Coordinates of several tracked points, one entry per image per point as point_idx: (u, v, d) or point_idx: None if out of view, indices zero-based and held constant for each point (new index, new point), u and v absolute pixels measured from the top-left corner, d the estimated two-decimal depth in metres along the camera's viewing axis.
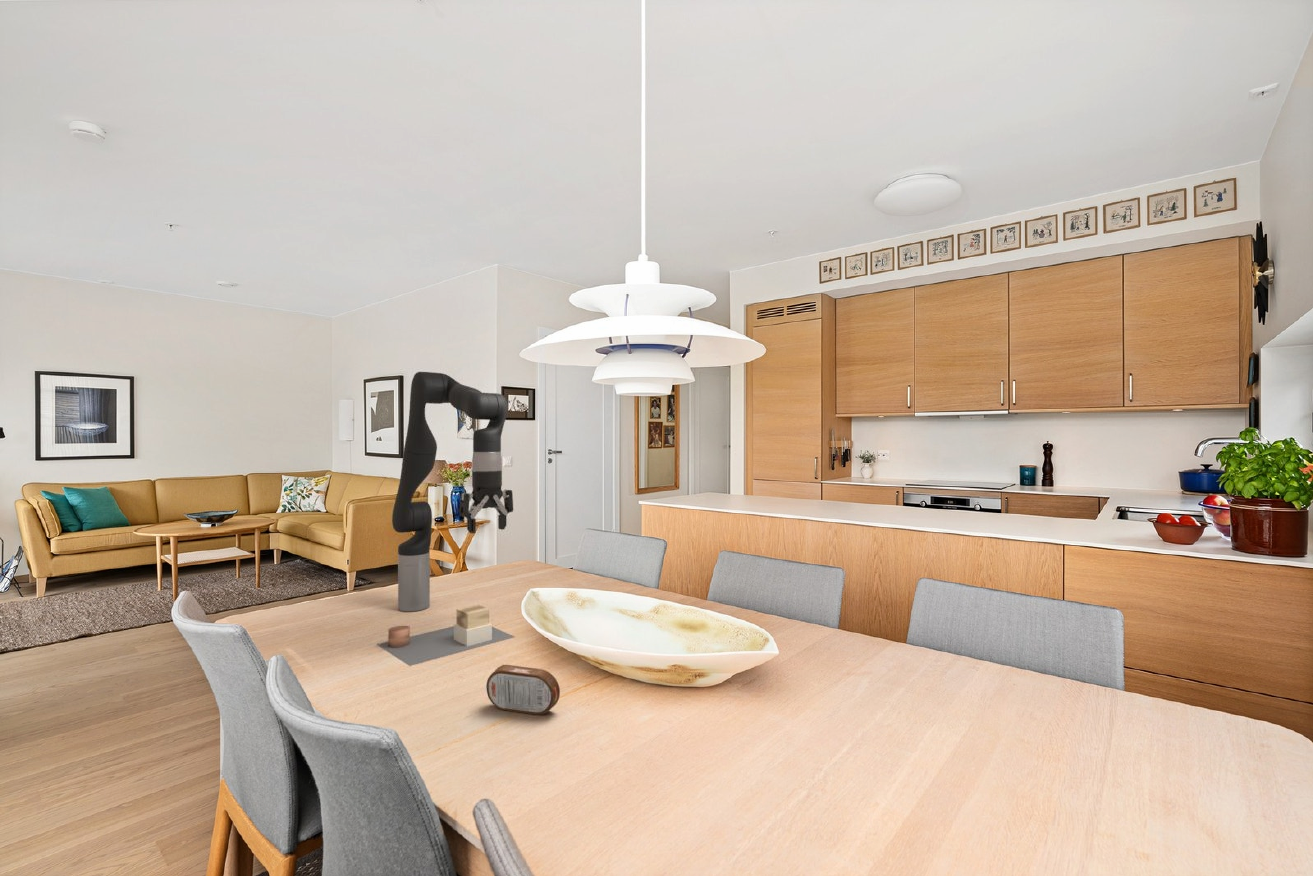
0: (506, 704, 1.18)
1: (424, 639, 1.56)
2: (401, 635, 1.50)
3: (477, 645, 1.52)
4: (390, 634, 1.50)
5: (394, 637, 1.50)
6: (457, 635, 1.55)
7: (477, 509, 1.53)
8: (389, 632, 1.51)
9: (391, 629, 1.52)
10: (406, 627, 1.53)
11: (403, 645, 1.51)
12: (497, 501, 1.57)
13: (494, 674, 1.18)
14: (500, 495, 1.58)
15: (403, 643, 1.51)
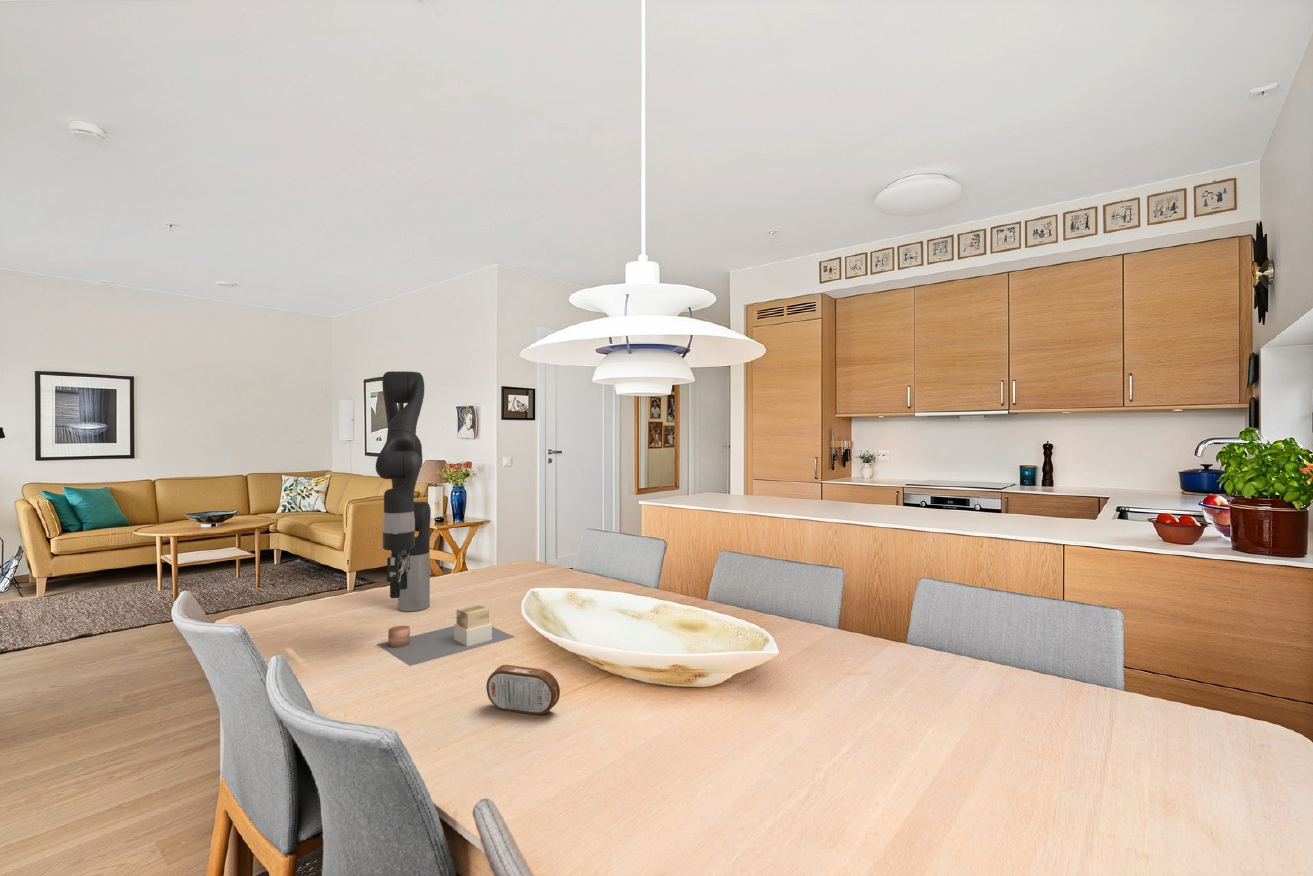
0: (506, 704, 1.18)
1: (424, 639, 1.56)
2: (401, 635, 1.50)
3: (477, 645, 1.52)
4: (390, 634, 1.50)
5: (394, 637, 1.50)
6: (457, 635, 1.55)
7: (402, 572, 1.49)
8: (389, 632, 1.51)
9: (391, 629, 1.52)
10: (406, 627, 1.53)
11: (403, 645, 1.51)
12: (407, 561, 1.55)
13: (494, 674, 1.18)
14: (406, 554, 1.56)
15: (404, 643, 1.51)
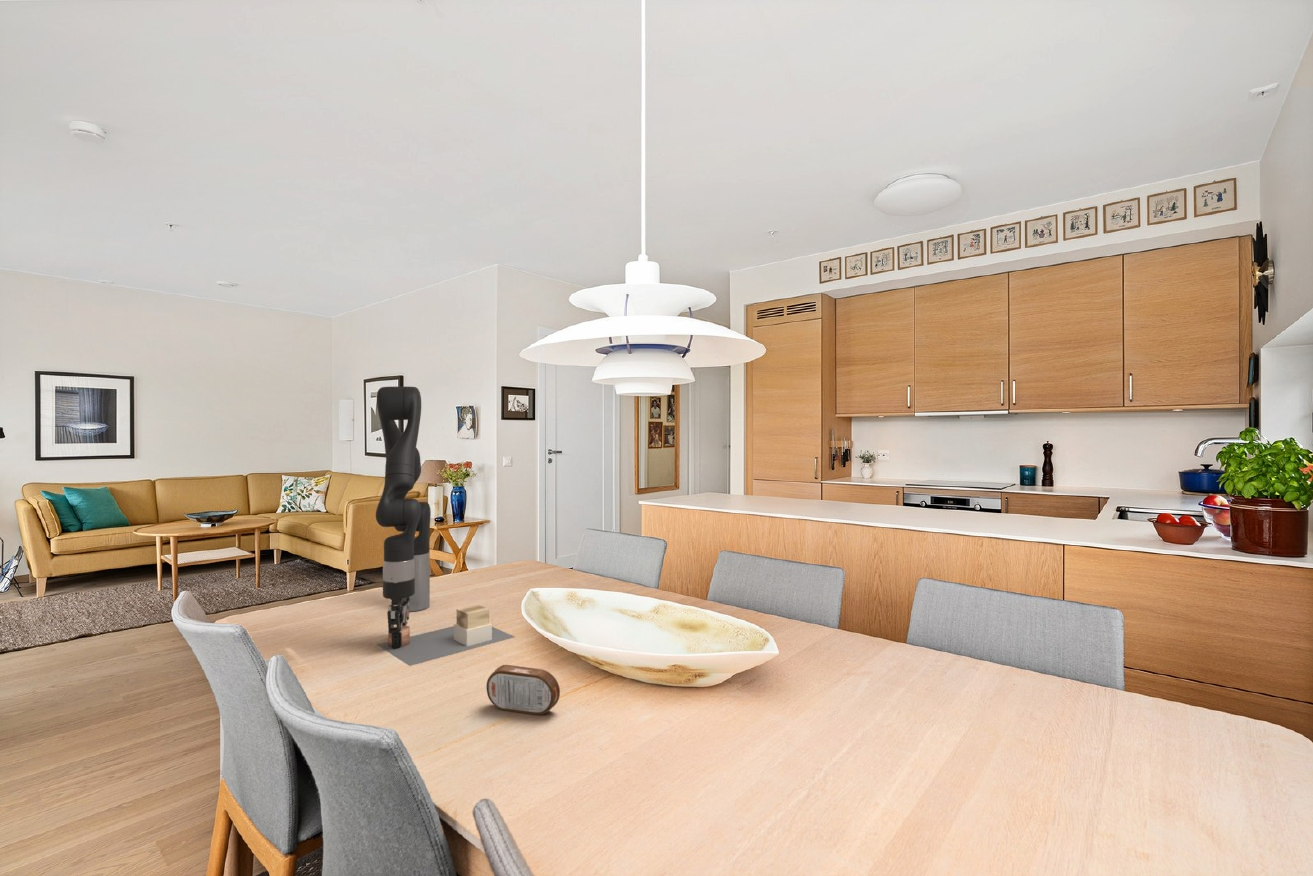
0: (507, 704, 1.18)
1: (424, 639, 1.56)
2: None
3: (477, 645, 1.52)
4: (390, 634, 1.50)
5: None
6: (457, 635, 1.55)
7: (403, 621, 1.50)
8: None
9: None
10: (406, 627, 1.53)
11: (403, 645, 1.51)
12: (407, 609, 1.54)
13: (494, 674, 1.18)
14: (406, 601, 1.56)
15: (403, 643, 1.51)
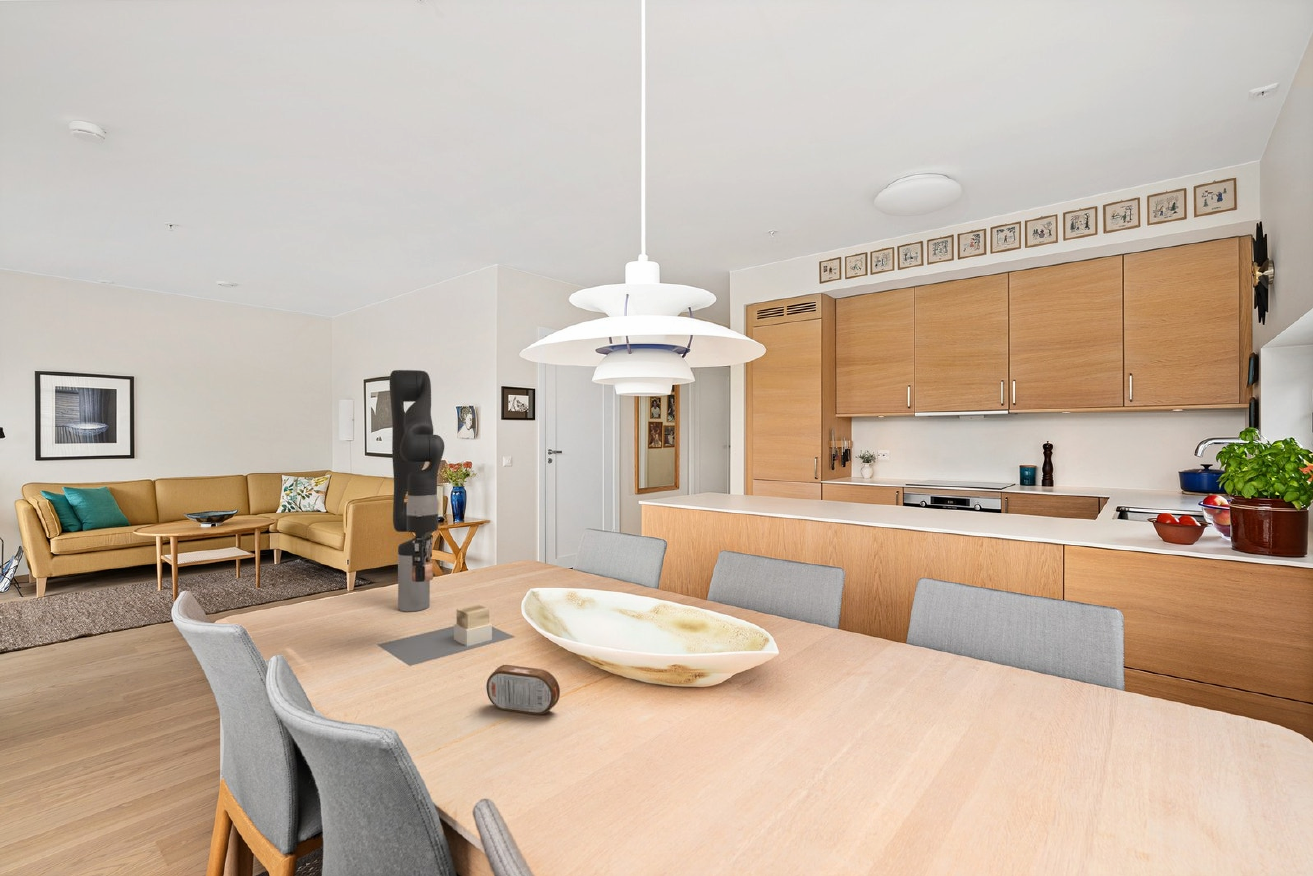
0: (507, 704, 1.18)
1: (424, 639, 1.56)
2: None
3: (477, 645, 1.52)
4: (414, 568, 1.51)
5: None
6: (457, 635, 1.55)
7: (426, 556, 1.51)
8: (413, 566, 1.52)
9: None
10: (429, 563, 1.54)
11: (426, 579, 1.52)
12: (430, 545, 1.55)
13: (494, 674, 1.18)
14: None
15: (427, 577, 1.52)
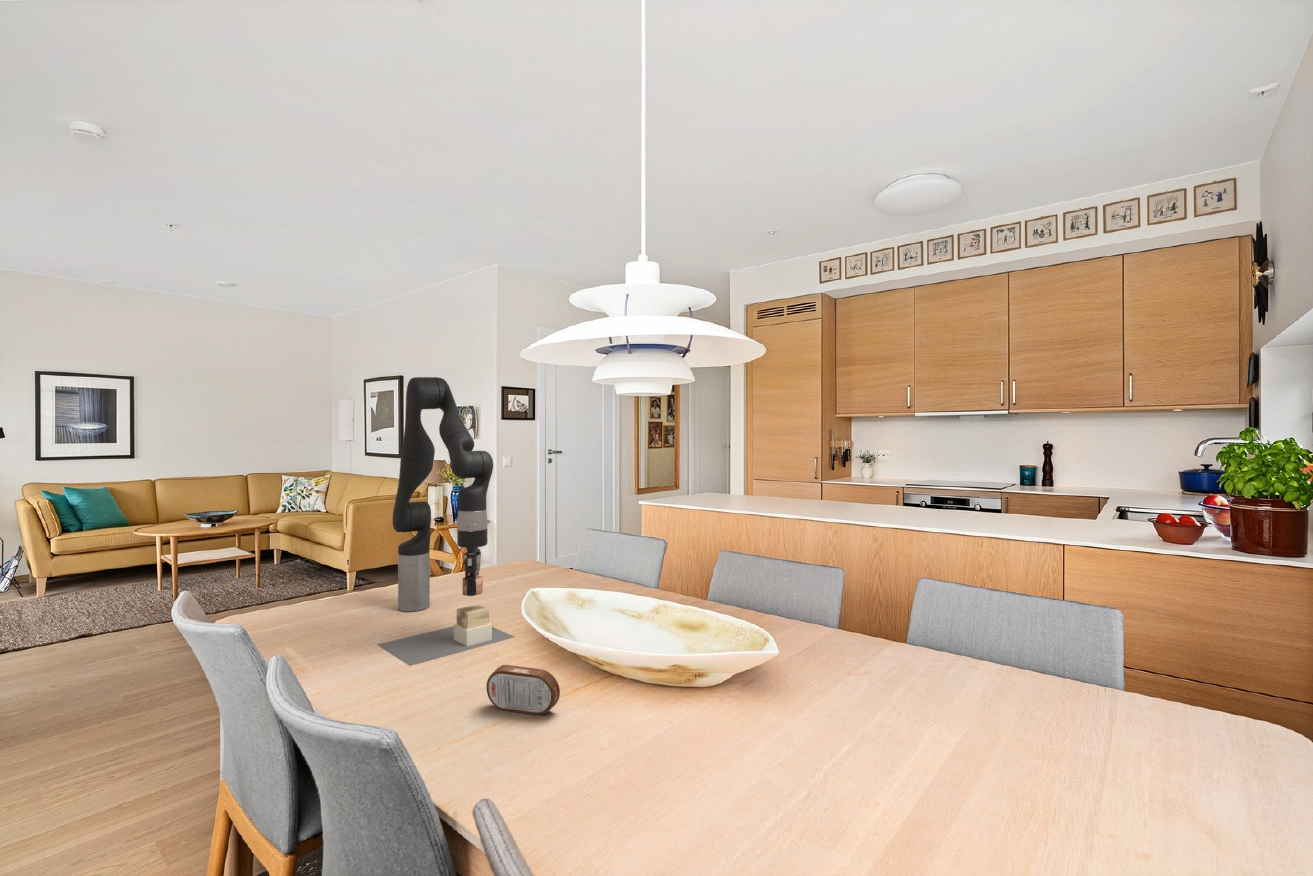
0: (507, 704, 1.18)
1: (424, 639, 1.56)
2: None
3: (477, 645, 1.52)
4: (465, 582, 1.54)
5: None
6: (457, 635, 1.55)
7: (477, 570, 1.54)
8: (464, 580, 1.54)
9: None
10: (479, 577, 1.57)
11: (477, 593, 1.54)
12: (479, 559, 1.58)
13: (494, 674, 1.18)
14: None
15: (478, 591, 1.54)
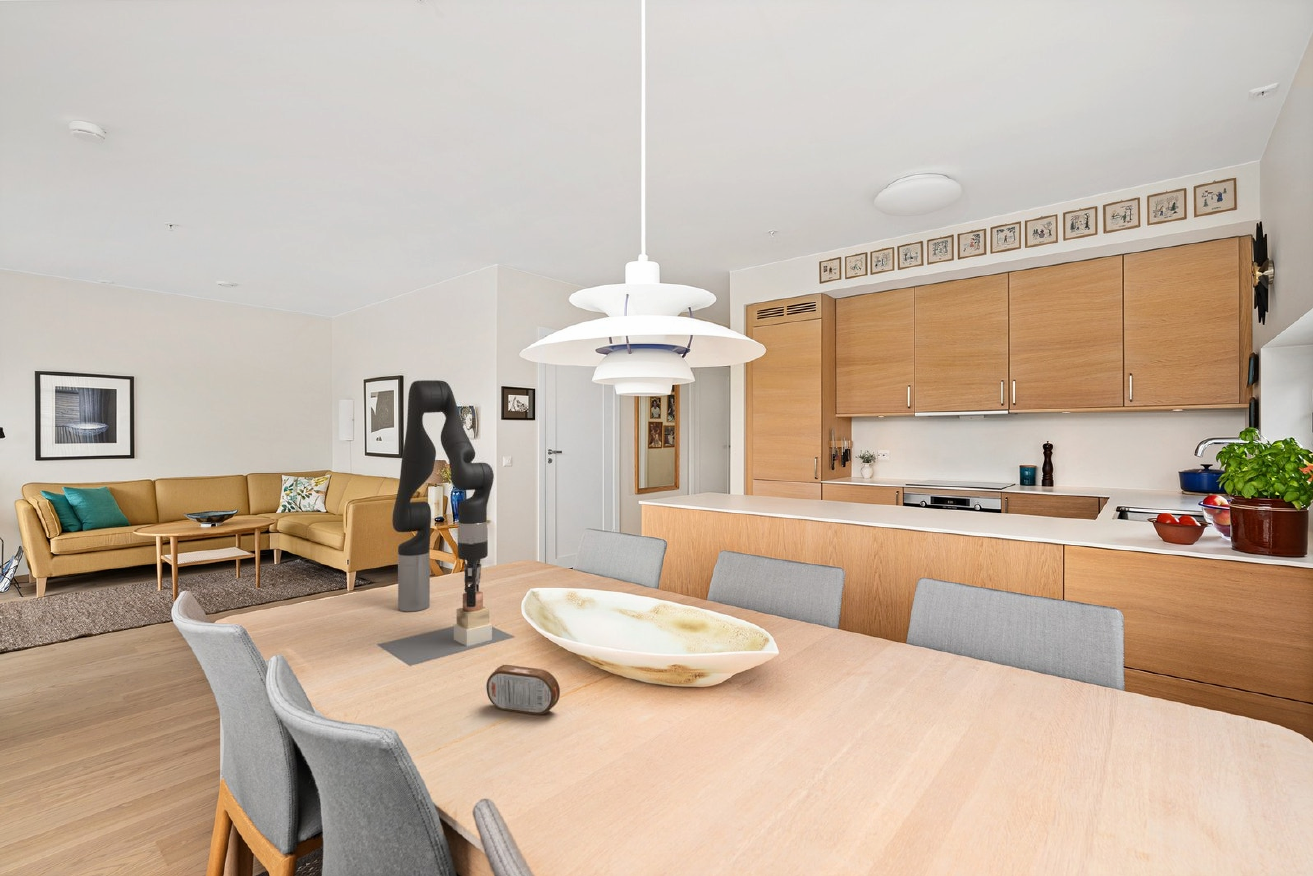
0: (507, 704, 1.18)
1: (424, 639, 1.56)
2: (476, 599, 1.54)
3: (477, 645, 1.52)
4: (465, 598, 1.54)
5: None
6: (457, 635, 1.55)
7: (477, 581, 1.53)
8: (464, 596, 1.54)
9: (465, 594, 1.56)
10: (479, 592, 1.57)
11: (477, 609, 1.54)
12: (480, 570, 1.58)
13: (494, 674, 1.18)
14: (478, 563, 1.59)
15: (478, 607, 1.55)
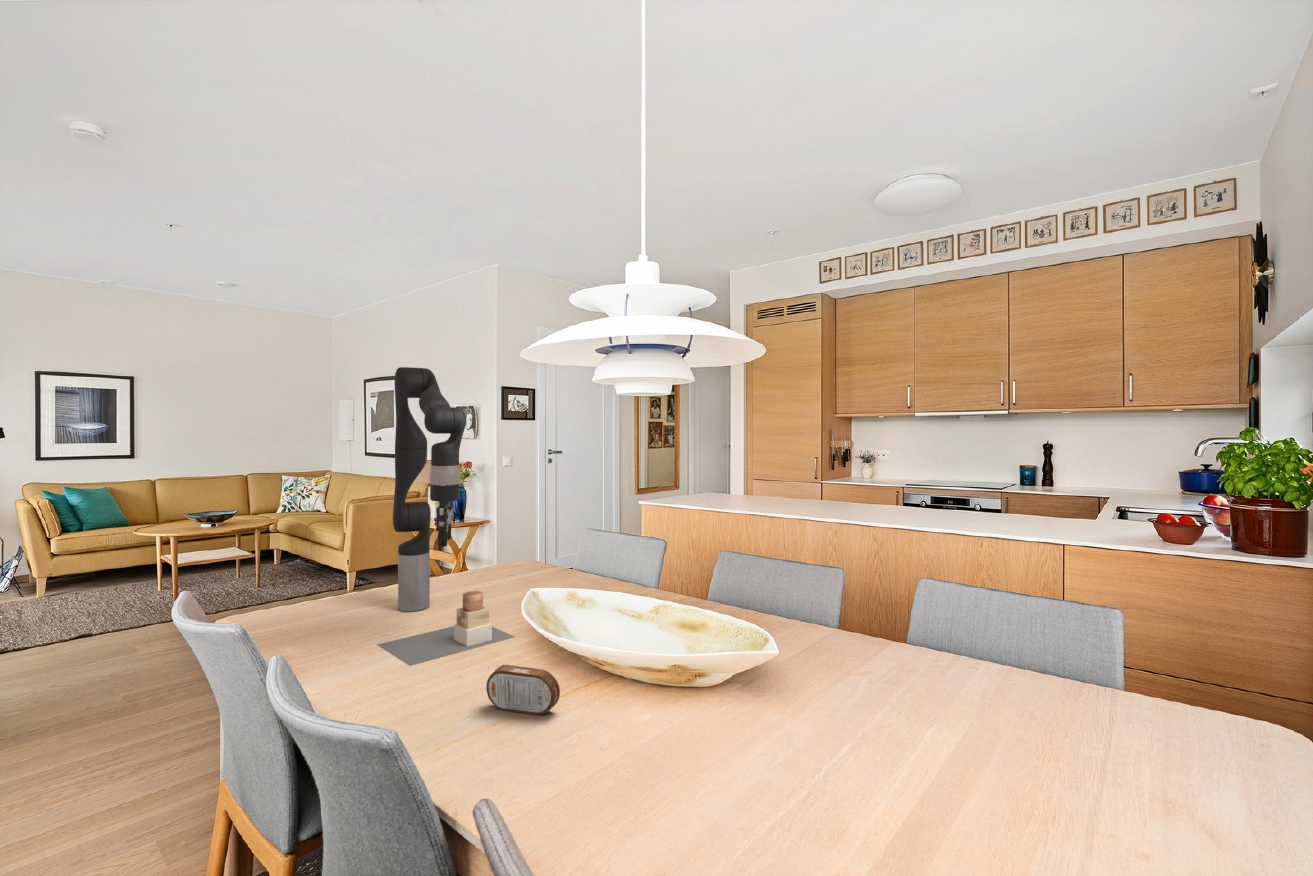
0: (507, 704, 1.18)
1: (424, 639, 1.56)
2: (476, 599, 1.54)
3: (477, 645, 1.52)
4: (465, 598, 1.54)
5: (469, 601, 1.54)
6: (457, 635, 1.55)
7: (449, 522, 1.56)
8: (464, 596, 1.54)
9: (465, 594, 1.56)
10: (479, 592, 1.57)
11: (477, 609, 1.54)
12: (452, 512, 1.62)
13: (494, 674, 1.18)
14: None
15: (478, 607, 1.55)
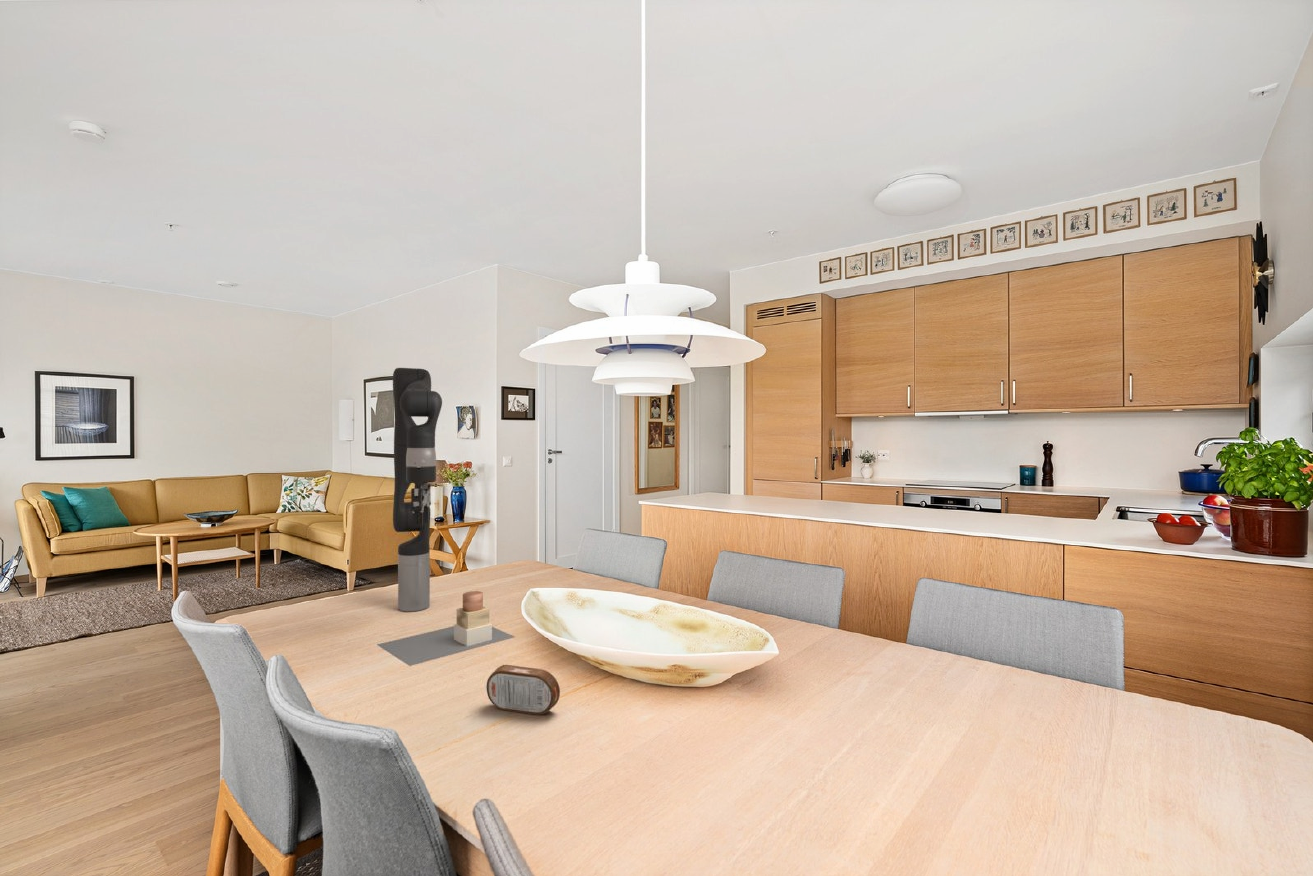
0: (507, 704, 1.18)
1: (424, 639, 1.56)
2: (476, 599, 1.54)
3: (477, 645, 1.52)
4: (465, 598, 1.54)
5: (469, 601, 1.54)
6: (457, 635, 1.55)
7: (425, 503, 1.58)
8: (464, 596, 1.54)
9: (465, 594, 1.56)
10: (479, 592, 1.57)
11: (477, 609, 1.54)
12: (429, 495, 1.64)
13: (494, 674, 1.18)
14: (427, 489, 1.65)
15: (478, 607, 1.55)
